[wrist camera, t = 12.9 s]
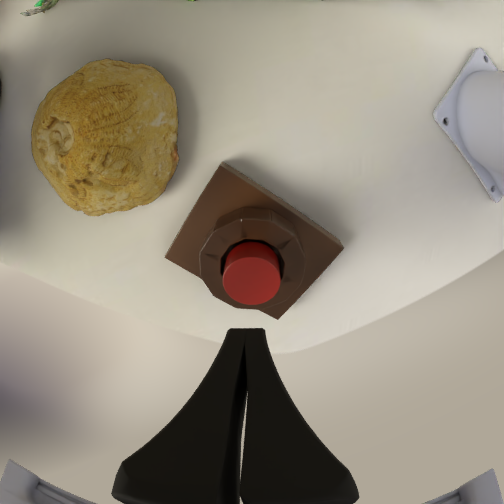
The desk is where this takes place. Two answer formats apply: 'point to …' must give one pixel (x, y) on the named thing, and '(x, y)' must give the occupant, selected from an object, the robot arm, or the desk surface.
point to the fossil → (108, 136)
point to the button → (251, 273)
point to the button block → (251, 238)
